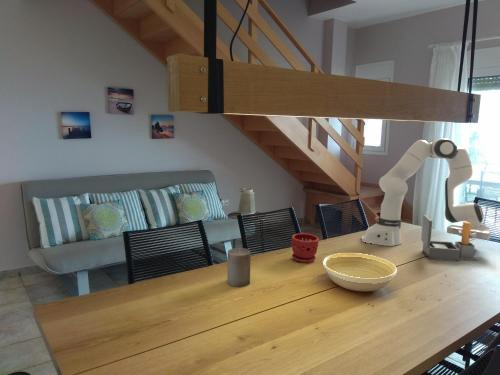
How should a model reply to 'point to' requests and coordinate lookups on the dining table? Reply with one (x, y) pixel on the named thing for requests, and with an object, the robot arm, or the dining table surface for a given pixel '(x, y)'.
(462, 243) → the rod
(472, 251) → the grey square holder
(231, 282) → the pillar candle
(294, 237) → the plant pot
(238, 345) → the dining table surface
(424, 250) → the equipment case
